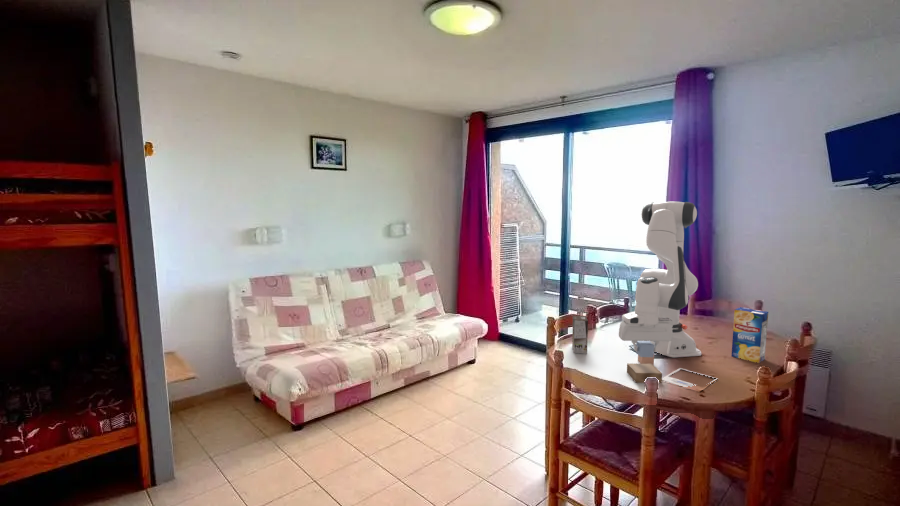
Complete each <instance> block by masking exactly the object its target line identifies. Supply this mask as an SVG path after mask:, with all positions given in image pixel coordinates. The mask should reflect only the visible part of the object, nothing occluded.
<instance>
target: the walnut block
mask: <svg viewBox="0 0 900 506" xmlns="http://www.w3.org/2000/svg"><path fill="white" fill-rule="evenodd" d="M626 363H627V362H626ZM626 374H628V376H629V377H630V378H631V379H632V380H633V381H634V382H635V383H637V384H639V383H641V384H642V383H643V384H645V383H644V381H645V379H646V378H647V377H656V378H657V379H658V380H659V382H660V383H659V384H662V382H663V381H662V378H663V372H661V371H660V370H659V368H657V367H656V366H655V364H654V365H653V364H640V363H627V364H626Z"/></svg>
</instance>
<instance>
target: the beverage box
mask: <svg viewBox="0 0 900 506" xmlns="http://www.w3.org/2000/svg"><path fill="white" fill-rule="evenodd" d="M733 314H734V315H733V326H732V329H733V330H732V340H731V341H732V342H731V343H732V344H731V357H733V358H736V359H740V358H741V360H744V361H748V360H749V361H748V362H752V363H756V362H757V363H756V364H760V363H762V362H763V361H764V360H766V347H767V346H766V345H767V332H768V322H769V311H766V310H760V309H759V310H758V309H753V308H748V307H741V306H740V307H738V308H735V309H734V313H733ZM761 361H762V362H761Z"/></svg>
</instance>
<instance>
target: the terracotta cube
mask: <svg viewBox="0 0 900 506" xmlns="http://www.w3.org/2000/svg"><path fill="white" fill-rule="evenodd" d="M637 362H638V364H653V365H654V366H655V356H654V357H640V356H639V355H638V354H637Z"/></svg>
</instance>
